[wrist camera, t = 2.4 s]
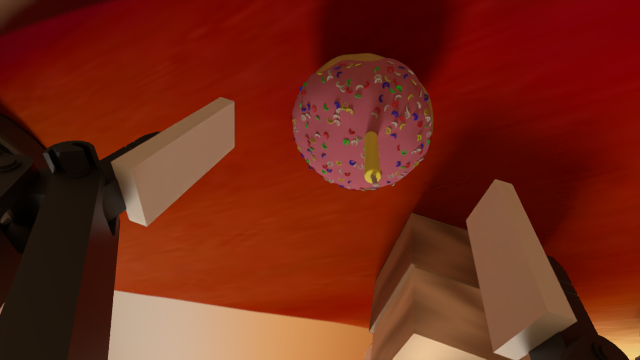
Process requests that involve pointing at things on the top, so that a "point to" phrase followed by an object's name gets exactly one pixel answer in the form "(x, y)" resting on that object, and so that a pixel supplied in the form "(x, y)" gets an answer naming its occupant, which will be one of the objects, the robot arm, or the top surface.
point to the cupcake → (363, 121)
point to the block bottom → (424, 259)
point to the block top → (434, 322)
